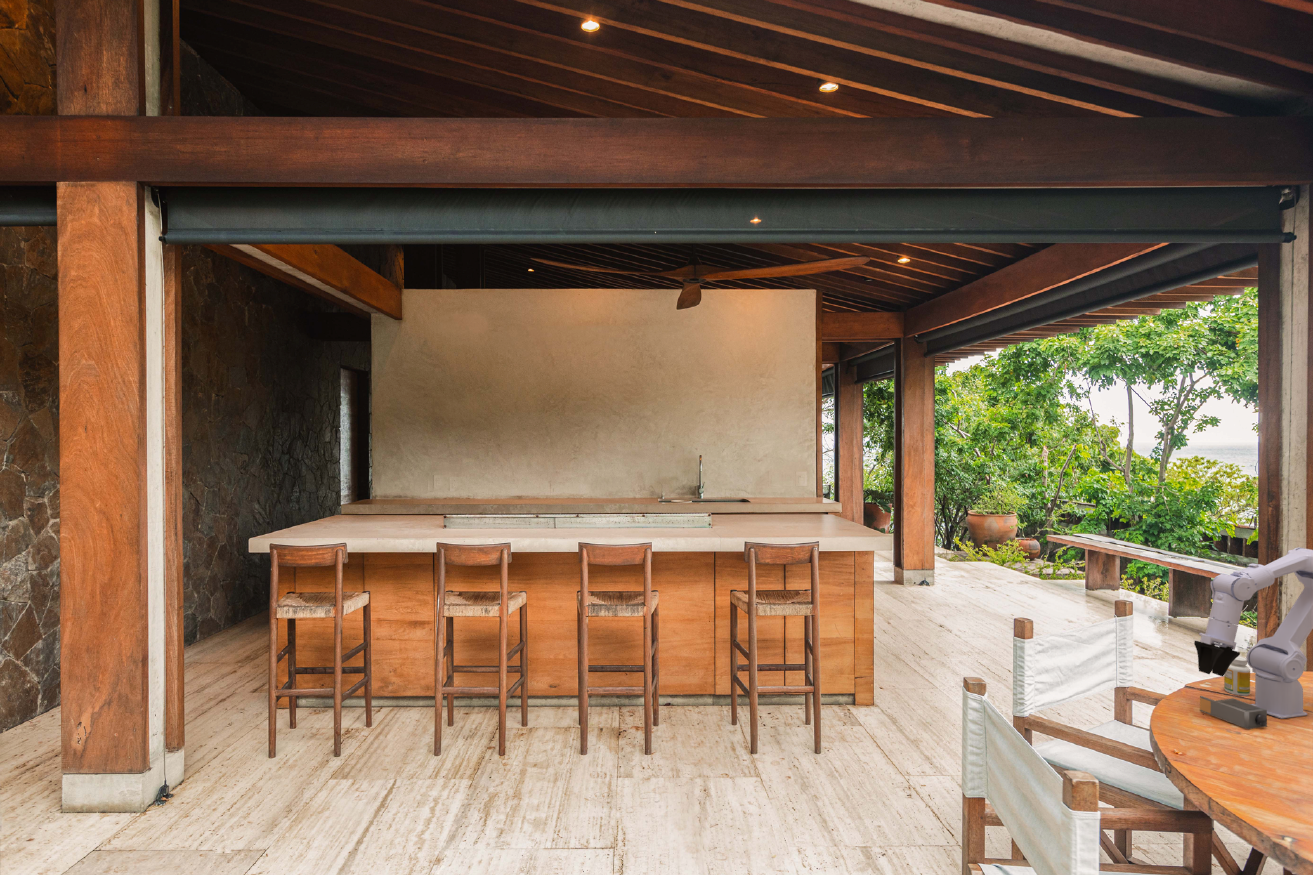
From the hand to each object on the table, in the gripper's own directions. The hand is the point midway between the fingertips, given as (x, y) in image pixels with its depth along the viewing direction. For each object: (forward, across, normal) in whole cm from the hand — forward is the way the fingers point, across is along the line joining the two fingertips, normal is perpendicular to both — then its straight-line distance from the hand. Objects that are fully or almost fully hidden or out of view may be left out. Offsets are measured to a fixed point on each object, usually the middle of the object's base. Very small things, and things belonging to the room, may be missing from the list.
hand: (1210, 673), depth 168 cm
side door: (+10, -1, +4) cm, 11 cm away
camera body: (+9, -4, +6) cm, 12 cm away
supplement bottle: (+5, -26, -3) cm, 27 cm away
